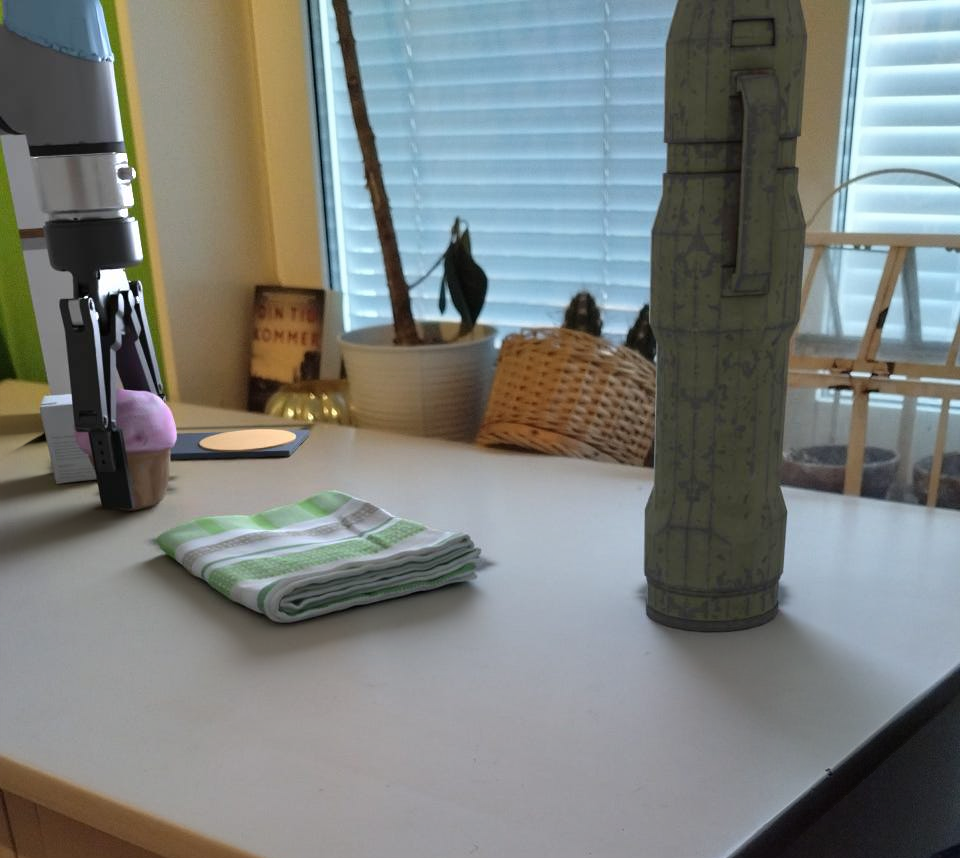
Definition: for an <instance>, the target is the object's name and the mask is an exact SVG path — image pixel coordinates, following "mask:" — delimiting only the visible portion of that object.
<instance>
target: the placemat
mask: <svg viewBox="0 0 960 858" xmlns="http://www.w3.org/2000/svg"><path fill="white" fill-rule="evenodd" d="M309 436H310V430H309V429H292V430H291V429H289V430H285V429H273V428H258V429H257V428H255V429H253V428H252V429H241V430H234V431H220V432H219V431H217V432H216V431H215V432H214V431H213V432H184V433H183V432H182V433H178V432H177V439H176V442H175V444H174V446H173V447H172V448H171V449H170V452H171V454H170V460H199V459H200V460H201V458H207V459H229V458H228V457H231V458H230V459H234V458H233V457H238V458H237V459H240V458H239V457H246V458H266V457H265V456H284V457H291V456H292V454H294V452H295V451H296V450H298V449H299V447H300V446H301V445H302V444H303V443H304V442H305V441H306V440H307V439H308V438H309ZM306 438H307V439H306ZM305 439H306V440H305ZM304 440H305V441H304ZM303 441H304V442H303ZM302 442H303V443H302ZM301 443H302V444H301ZM300 444H301V445H300ZM299 445H300V446H299ZM290 455H291V456H290Z"/></svg>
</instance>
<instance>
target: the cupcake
mask: <svg viewBox="0 0 960 858" xmlns="http://www.w3.org/2000/svg"><path fill="white" fill-rule="evenodd" d="M95 413H96V412H95ZM174 418H175V417H174V415H173V412H172V411H171V409H170V408H169V406H168V405H167V403H164V401H163V400H162V399H161V398H160V397H158V396H157V395H155V394H153V393H150V392H147V391H132V390H123V389H116V423H117V426H116V429H122V432H123V438H124V444H125V449H126V455H127V461H128V467H129V473H130V479H131V484H132V490H133V496H134V502H135V507H134V508H133V509H121V510H122V511H128V512H135V511H139V510H143V509H146V508H149V507H152V506H156V505H159V504H160V503H161V502H162V501H163V500H164V498H165V497H166V494H167V492H168V491H167V489H168V485H169V480H170V472H171V459H170V454H171V452H170V449H171V448H172V447H173V446H174V444H175V442H176V439H177V433H178V432H177V426H176V422H175V419H174ZM73 431H74V436H75V441H76V443H77V444H78V446H79V448H80V449H81V450H82V451H83V452H84V453H86V454H88V456H89V459H90V462H91V464H92V466H93V468H94V471H95V467H94V462H93V456H92V451H91V445H90V440H89V435H88V432H80V433H78V432H77V431H76V429H75V425H74V424H73Z"/></svg>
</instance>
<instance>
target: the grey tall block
mask: <svg viewBox="0 0 960 858" xmlns="http://www.w3.org/2000/svg"><path fill="white" fill-rule="evenodd" d="M0 142H1V147H2V153H3V158H4V163H5V168H6V174H7V179H8V184H9V188H10V193H11V199H12V204H13V210H14V214H15V221H16V223H17V224H16V225H17V230H18V234H19V240H20V245H21V250H22V251H21V252H22V255H23V260H24V266H25V271H26V276H27V280H28V286H29V291H30V296H31V302H32V306H33V312H34V316H35V322H36V326H37V327H36V328H37V332H38V336H39V343H40V348H41V352H42V357H43V363H44V368H45V373H46V378H47V379H46V380H47V383H48V389H49V395H50V396H52V395H65V394H71V386H70V376H69V366H68V357H67V347H66V337H65V329H64V325H63V321H62V316H61V312H60V308H59V301H60V299H69V298H73V277H72V274H71V273H70V272H69V271H66V272H62V271H57V270H54V269H53V268H52V267H51V265H50V262H49V256H48V251H47V245H46V240H45V235H44V229H43V226H45V222H46V221H49V218H48V214H45V213H42V212H41V211H40V210H39V206H38V201H37V195H36V189H35V184H34V178H33V172H32V166H31V161H30V158H40V157H57V156H37V157H30V153H29V147H28V144H27V139H26V135H0ZM116 153H117V152H116ZM116 153H98V154H116ZM79 155H94V154H79ZM60 156H75V155H60ZM116 389H123V390H124V388H123V385H122V383H121V380H120V377H119V374H118V371H117V369H116Z"/></svg>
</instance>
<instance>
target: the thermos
mask: <svg viewBox="0 0 960 858" xmlns="http://www.w3.org/2000/svg"><path fill="white" fill-rule="evenodd" d="M804 15H805V14H804V12H803V6H802V1H801V0H677V1H676V4H675V7H674V11H673V14H672V18H671V21H670V25H669V28H668V32H667V36H666V40H665V43H664V72H663V73H664V75H663V77H664V78H663V79H664V81H663V82H664V83H663V125H662V143H663V144H666V145H665V146H666V147H665V148H666V150H665V172H662V174H661V196H660V199H659V203H658V204H657V209H656V212H655V214H654V218H653V222H652V224H651V228H650V243H649V244H650V247H649V248H650V249H649V250H650V251H649V303H648V305H649V307H648V309H649V310H648V323H649V326H650V329H651V331H652V334H653V337H654V340H655V342H656V347H655V348H656V351H655V352H656V353H655V354H656V355H655V357H656V358H655V397H654V398H655V399H654V400H655V402H654V446H653V447H654V448H653V449H654V452H653V453H654V454H653V456H654V457H653V486H652V489H651V491H650V494H649V496H648V499H647V502H646V504H645V507H644V525H643V526H644V528H643V529H644V530H643V531H644V532H643V533H644V534H643V574H644V576H645V579H646V597H645V606H644V607H645V614H646V616H648V617H649V618H650V619H651V620H653V621H655V622H657V623H659V624H661V625H663V626H666V627H671V628H676V629H680V630H686V631H695V632H732V631H739V630H747V629H750V628H755V627H758V626H762V625H764V624H766V623H767V622H770V621H771V620H773V619H775V617H776V616H777V614H778V612H779V600H778V599H779V587H780V586H779V584H780V580H781V577H782V575H783V574H784V566H785V553H786V550H785V549H786V539H787V538H786V537H787V526H788V525H787V524H788V523H787V522H788V509H787V505H786V502H785V498H784V495H783V492H782V487H781V481H782V480H781V479H782V464H783V448H784V435H785V420H786V419H785V418H786V404H787V388H788V375H789V374H788V373H789V359H790V346H791V345H790V344H791V339H792V337H793V334H794V332H795V331H796V328H797V326H798V324H799V321H800V319H801V318H800V317H801V305H802V303H801V302H802V292H803V291H802V290H803V289H802V288H803V274H804V260H805V246H806V231H807V224H806V220H805V216H804V210H803V207H802V201H801V198H800V194H799V193H800V192H799V190H798V188H799V172H800V168H799V167H797V166H796V161H797V146H798V145H797V144H798V137H802V126H803V124H802V123H803V111H804V110H803V108H804V93H805V77H806V64H807V63H806V62H807V49H808V31H807V27H806V21H805V16H804Z"/></svg>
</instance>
